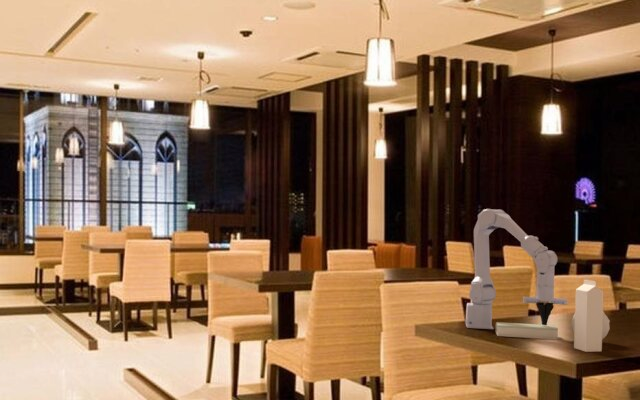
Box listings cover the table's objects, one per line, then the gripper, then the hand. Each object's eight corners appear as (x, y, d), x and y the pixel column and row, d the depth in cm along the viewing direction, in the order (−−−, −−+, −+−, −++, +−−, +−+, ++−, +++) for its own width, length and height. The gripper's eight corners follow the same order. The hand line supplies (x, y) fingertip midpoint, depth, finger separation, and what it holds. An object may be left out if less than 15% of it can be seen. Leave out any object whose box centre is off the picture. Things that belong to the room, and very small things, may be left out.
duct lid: (497, 327, 250) (498, 325, 250) (495, 324, 257) (495, 322, 257) (557, 330, 248) (557, 328, 248) (554, 327, 255) (554, 325, 255)
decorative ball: (612, 346, 237) (613, 310, 237) (574, 344, 239) (575, 308, 239) (604, 340, 249) (605, 305, 249) (568, 338, 251) (569, 303, 251)
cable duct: (497, 335, 250) (497, 327, 250) (495, 332, 257) (495, 324, 257) (557, 339, 248) (557, 330, 248) (553, 336, 255) (554, 327, 255)
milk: (585, 352, 226) (587, 281, 226) (573, 348, 232) (575, 279, 232) (602, 351, 228) (604, 281, 228) (589, 347, 233) (591, 279, 234)
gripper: (525, 285, 249) (524, 325, 249) (569, 287, 247) (568, 327, 247) (522, 283, 256) (521, 322, 256) (565, 285, 254) (564, 324, 254)
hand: (544, 324), depth 252 cm, fingers closed
